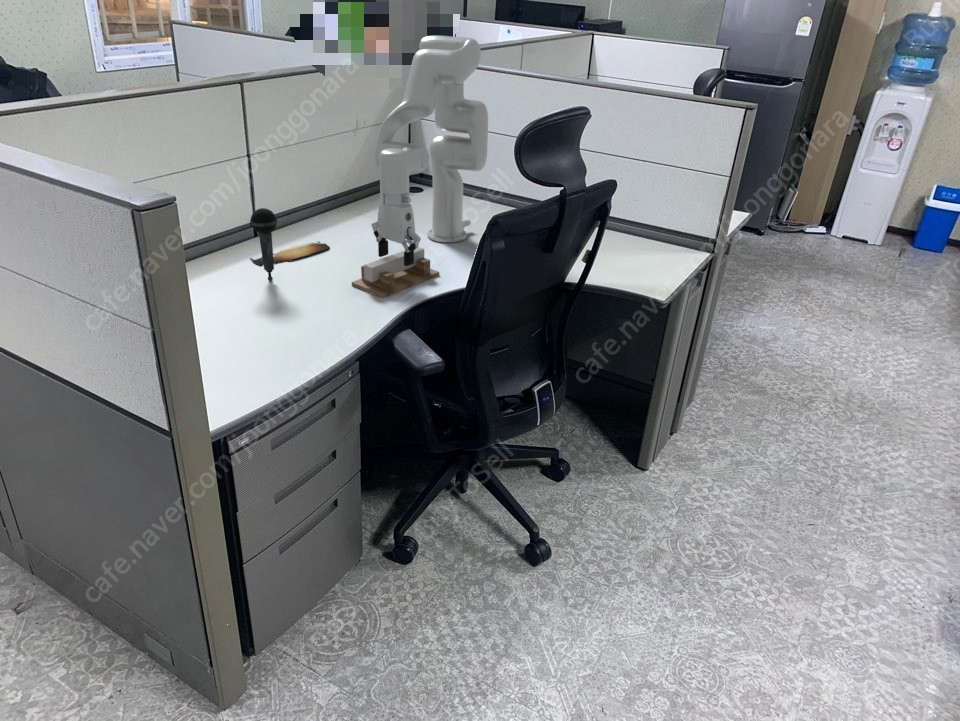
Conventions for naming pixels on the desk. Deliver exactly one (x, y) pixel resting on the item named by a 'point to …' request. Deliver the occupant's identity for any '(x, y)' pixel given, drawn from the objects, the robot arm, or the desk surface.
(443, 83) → the robot arm
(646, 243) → the desk surface
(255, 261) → the parchment
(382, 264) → the clay strip
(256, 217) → the microphone
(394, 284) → the wooden pegged board
